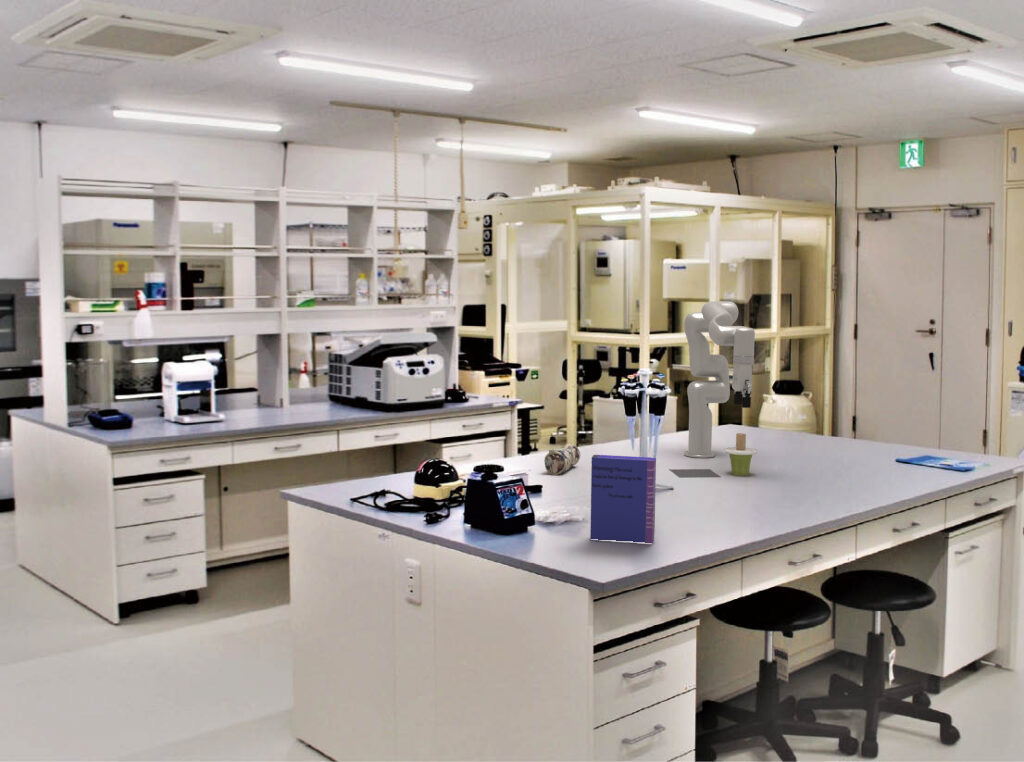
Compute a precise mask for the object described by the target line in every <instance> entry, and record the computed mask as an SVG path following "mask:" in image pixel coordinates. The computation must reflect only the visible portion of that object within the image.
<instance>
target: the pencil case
mask: <svg viewBox="0 0 1024 762" xmlns="http://www.w3.org/2000/svg"><path fill="white" fill-rule="evenodd" d="M580 459H581V451H580V449H579V447H577V445H575V444H573V443H567V444H565V445H563V446H561V447H560V449H555V448H553V449H548V452H547V454H546V455H545V456H544V467H545V470H546V472H547V473H549V474H550V475H553V476H558V475H560V474H563V473H565V472H566V471H568V470H569V469H571V468H572V467H574V466H575V465H577V464H578V463H579V461H580Z"/></svg>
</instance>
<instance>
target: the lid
mask: <svg viewBox="0 0 1024 762" xmlns="http://www.w3.org/2000/svg"><path fill="white" fill-rule="evenodd" d="M746 442H747V434H746V433H741V432H740V433H738V432H737V433H735V446H732V447H725V448H724V450H723V451H724V453H725V454H728V455H729V454H734V455H752V456H753V455H754V456H755V455H756V454H758V449H755V448H752V447H747V445H746Z"/></svg>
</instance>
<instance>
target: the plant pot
mask: <svg viewBox="0 0 1024 762" xmlns="http://www.w3.org/2000/svg"><path fill="white" fill-rule="evenodd" d="M728 455H729V459H730V466H731V474H732V475H734V476H740V477H741V476H749V473H750V468H751V462H752V457H753V455H734V454H728Z"/></svg>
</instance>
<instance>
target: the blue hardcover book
mask: <svg viewBox="0 0 1024 762" xmlns="http://www.w3.org/2000/svg"><path fill="white" fill-rule="evenodd" d="M590 474H591V479H590V533H589V535H590V537H589V540H590V539H598V540H616V541H633V542H645V543H653V541H654V542H655V532H656V531H655V527H656V526H655V521H656V520H655V519H656V517H655V516H656V487H657V486H656V484H657V483H656V482H657V481H656V478H657V477H656V476H657V475H656V474H657V458H656V457H648V456H630V455H629V456H627V455H626V456H625V455H610V454H608V455H606V454H605V455H604V454H593V455H592V457H591V473H590ZM653 544H654V543H653Z"/></svg>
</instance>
